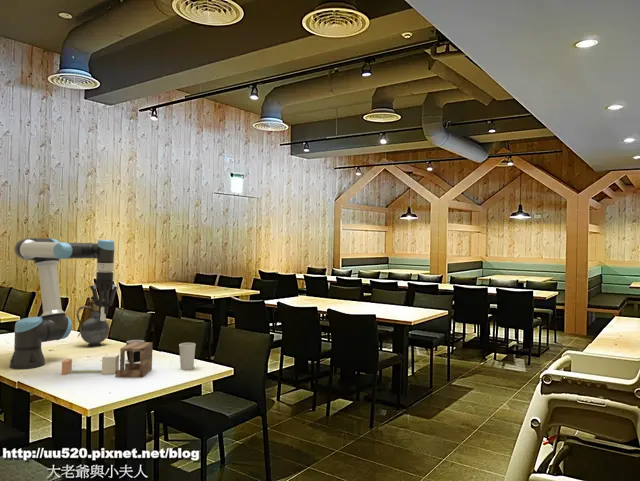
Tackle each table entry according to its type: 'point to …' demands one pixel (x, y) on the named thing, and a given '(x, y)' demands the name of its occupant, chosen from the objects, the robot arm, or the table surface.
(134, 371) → the cubby
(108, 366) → the mismatched dumbbell
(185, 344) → the cup
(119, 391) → the table surface
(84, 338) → the pitcher
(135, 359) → the mug
